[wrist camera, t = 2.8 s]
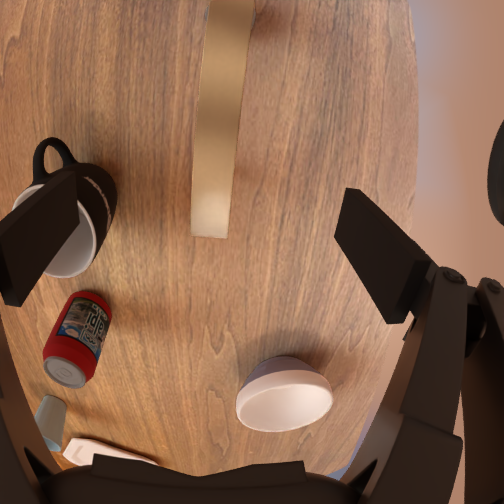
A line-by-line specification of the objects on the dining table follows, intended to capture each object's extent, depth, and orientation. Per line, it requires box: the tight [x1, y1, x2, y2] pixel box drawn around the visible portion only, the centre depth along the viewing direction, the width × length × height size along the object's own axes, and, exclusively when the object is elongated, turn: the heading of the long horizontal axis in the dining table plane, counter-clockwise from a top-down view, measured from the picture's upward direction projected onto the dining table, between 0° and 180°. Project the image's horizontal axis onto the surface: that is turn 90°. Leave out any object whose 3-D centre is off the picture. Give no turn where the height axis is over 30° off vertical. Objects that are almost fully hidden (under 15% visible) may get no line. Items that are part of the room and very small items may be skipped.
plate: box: [63, 438, 159, 466], centre depth 65 cm, size 25×25×2 cm
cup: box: [34, 395, 67, 451], centre depth 47 cm, size 8×8×10 cm
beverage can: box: [43, 291, 112, 389], centre depth 34 cm, size 7×7×12 cm
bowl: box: [236, 356, 333, 432], centre depth 46 cm, size 14×14×8 cm
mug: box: [12, 137, 117, 278], centre depth 26 cm, size 12×9×10 cm
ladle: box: [190, 0, 256, 238], centre depth 21 cm, size 18×4×14 cm, turn 173°
